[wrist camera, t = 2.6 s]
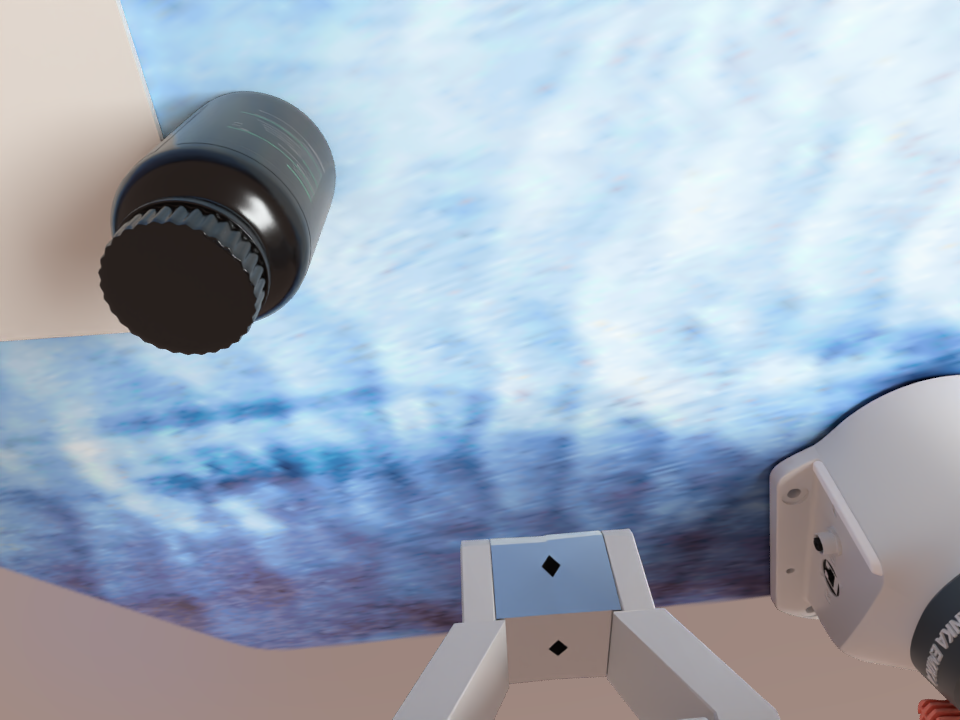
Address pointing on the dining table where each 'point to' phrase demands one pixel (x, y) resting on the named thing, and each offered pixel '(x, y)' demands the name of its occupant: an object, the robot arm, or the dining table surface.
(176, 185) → the supplement bottle
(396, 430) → the dining table surface
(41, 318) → the mat
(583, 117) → the dining table surface
